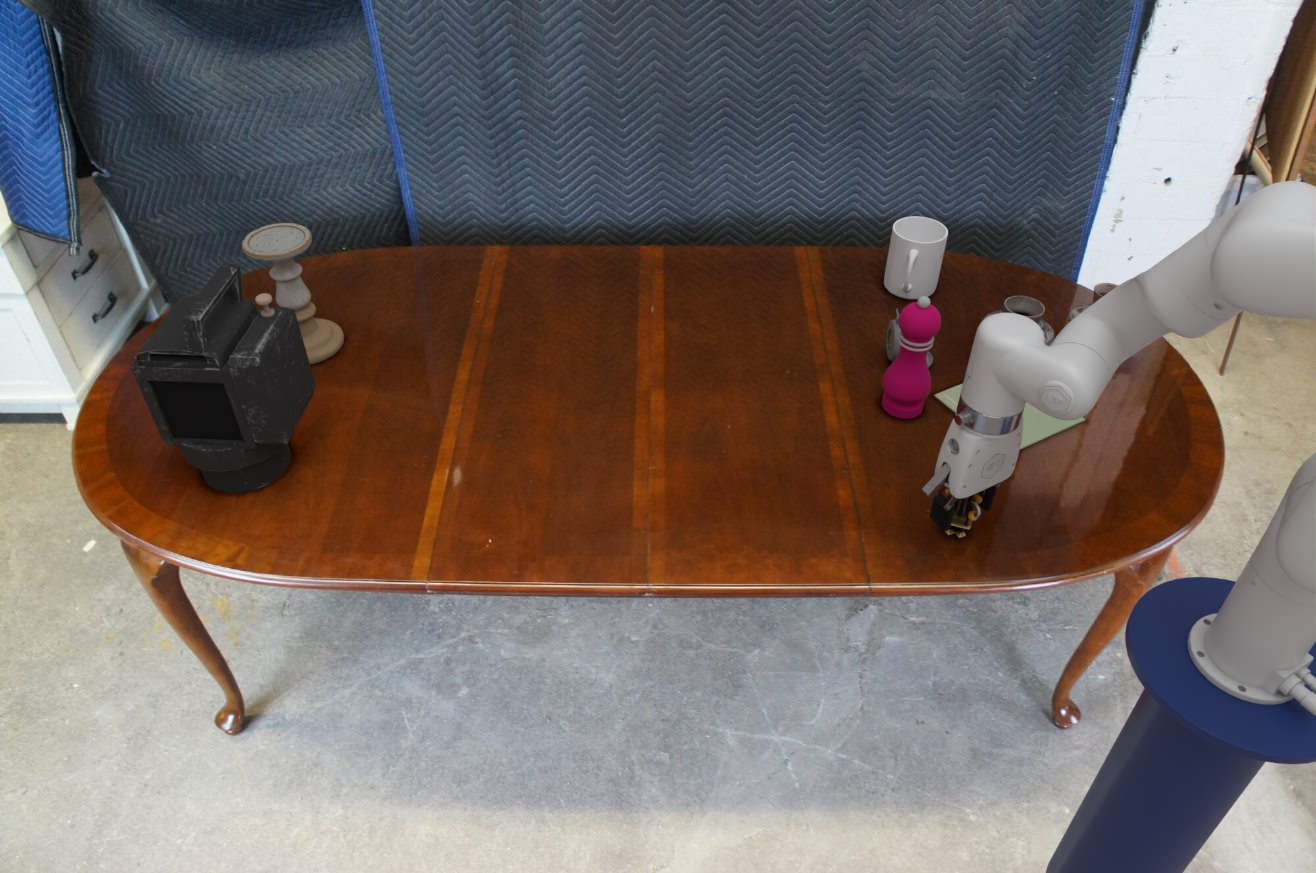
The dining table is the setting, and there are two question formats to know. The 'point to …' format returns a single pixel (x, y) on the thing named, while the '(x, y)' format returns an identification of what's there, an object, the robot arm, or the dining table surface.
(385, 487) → the dining table surface
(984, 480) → the robot arm
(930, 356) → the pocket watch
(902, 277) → the mug
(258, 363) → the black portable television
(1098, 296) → the pottery
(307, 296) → the candle holder
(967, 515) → the figurine
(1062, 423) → the napkin
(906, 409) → the pepper mill
